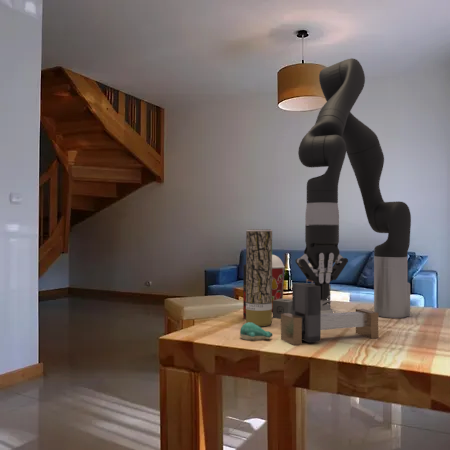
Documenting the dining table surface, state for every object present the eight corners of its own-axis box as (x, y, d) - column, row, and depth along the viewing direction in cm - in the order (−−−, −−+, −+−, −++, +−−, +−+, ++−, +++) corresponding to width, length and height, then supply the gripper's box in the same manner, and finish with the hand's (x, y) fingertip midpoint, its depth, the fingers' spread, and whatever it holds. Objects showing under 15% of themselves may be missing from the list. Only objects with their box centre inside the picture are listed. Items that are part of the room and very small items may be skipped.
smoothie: (287, 309, 148) (287, 245, 148) (281, 314, 140) (281, 246, 140) (261, 308, 151) (261, 245, 151) (254, 312, 143) (254, 245, 143)
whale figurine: (245, 335, 112) (245, 319, 112) (275, 338, 109) (275, 322, 110) (236, 340, 107) (236, 323, 107) (267, 344, 104) (267, 326, 104)
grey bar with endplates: (362, 332, 115) (362, 308, 115) (378, 337, 110) (378, 312, 110) (280, 339, 108) (281, 313, 108) (293, 345, 102) (293, 318, 102)
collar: (303, 334, 111) (303, 282, 111) (320, 341, 104) (320, 286, 104) (292, 335, 110) (292, 283, 110) (308, 342, 103) (308, 286, 103)
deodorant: (241, 316, 135) (242, 264, 136) (262, 316, 136) (262, 264, 136) (244, 320, 129) (244, 265, 130) (266, 320, 130) (266, 265, 130)
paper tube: (270, 327, 120) (270, 229, 121) (243, 326, 122) (244, 229, 122) (273, 322, 127) (273, 229, 127) (247, 321, 128) (248, 229, 129)
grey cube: (288, 320, 131) (288, 302, 131) (272, 318, 134) (272, 300, 134) (296, 317, 135) (296, 300, 135) (281, 315, 138) (281, 298, 138)
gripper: (337, 223, 114) (337, 296, 114) (288, 223, 109) (288, 298, 109) (356, 223, 107) (356, 300, 107) (304, 222, 102) (304, 303, 102)
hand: (321, 299), depth 108 cm, fingers closed
